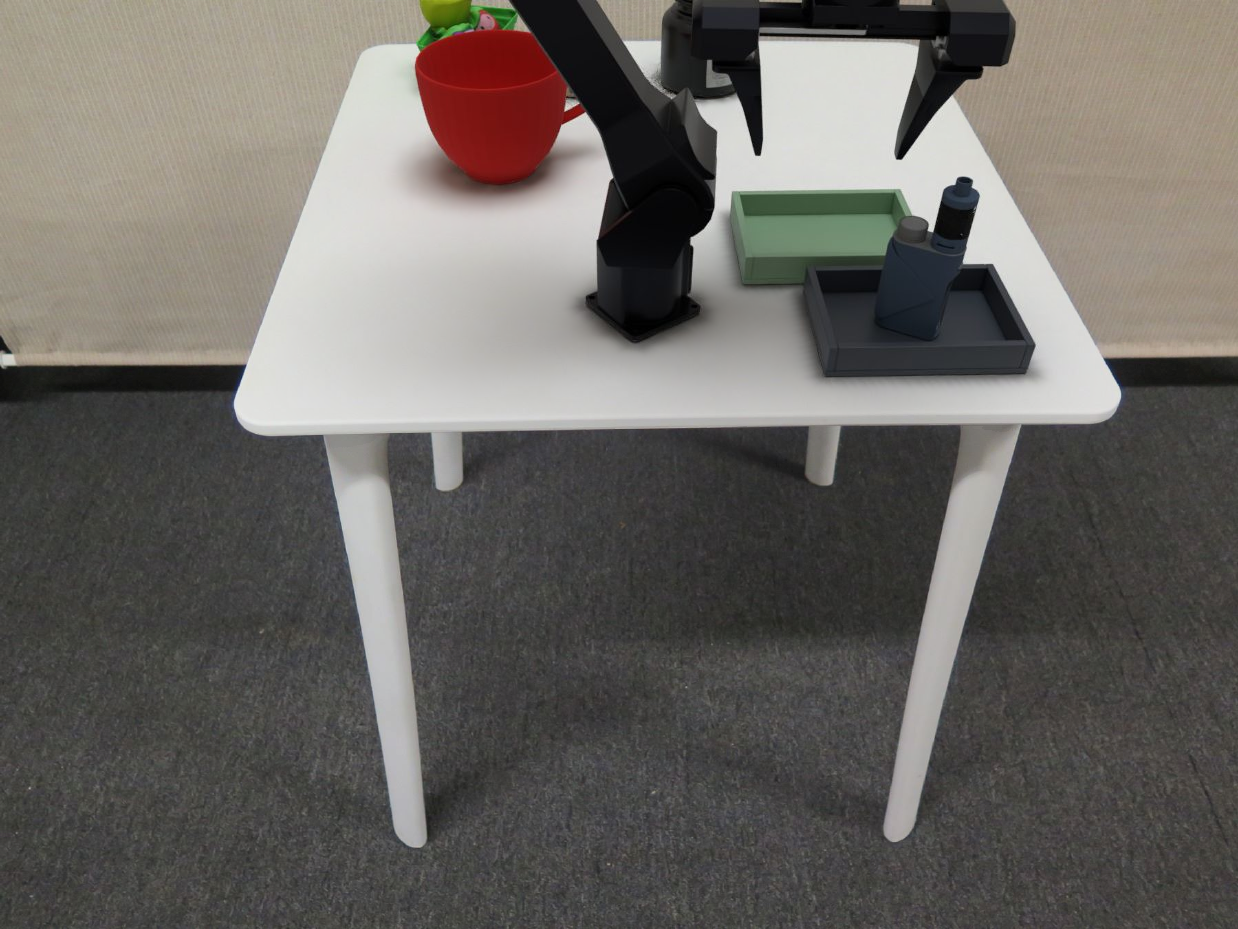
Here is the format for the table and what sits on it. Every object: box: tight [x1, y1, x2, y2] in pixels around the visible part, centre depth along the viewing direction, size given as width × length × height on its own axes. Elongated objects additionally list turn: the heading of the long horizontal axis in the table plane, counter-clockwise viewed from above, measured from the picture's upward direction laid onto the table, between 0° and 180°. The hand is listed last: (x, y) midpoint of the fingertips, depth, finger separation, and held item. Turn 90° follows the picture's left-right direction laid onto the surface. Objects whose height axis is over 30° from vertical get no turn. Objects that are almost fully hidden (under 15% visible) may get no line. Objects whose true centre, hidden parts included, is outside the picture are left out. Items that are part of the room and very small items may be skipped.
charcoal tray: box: [802, 263, 1037, 377], centre depth 74 cm, size 14×10×2 cm
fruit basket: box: [415, 0, 519, 53], centre depth 104 cm, size 11×9×11 cm
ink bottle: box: [659, 0, 735, 97], centre depth 102 cm, size 10×9×12 cm
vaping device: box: [874, 175, 981, 340], centre depth 70 cm, size 3×5×12 cm, turn 61°
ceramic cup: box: [414, 29, 586, 185], centre depth 90 cm, size 13×17×10 cm
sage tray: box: [729, 188, 914, 285], centre depth 82 cm, size 14×10×2 cm
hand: (827, 154), depth 67 cm, fingers open, 9 cm apart
